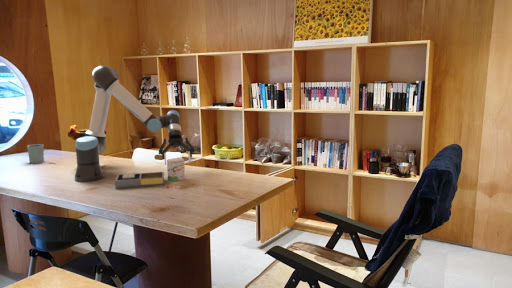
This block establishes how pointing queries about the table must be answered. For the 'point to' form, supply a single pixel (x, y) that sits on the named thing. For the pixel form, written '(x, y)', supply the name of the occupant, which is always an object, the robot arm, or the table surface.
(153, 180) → the grey compartment tray
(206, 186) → the table surface
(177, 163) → the ink box
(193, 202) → the table surface
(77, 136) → the decorative vase
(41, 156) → the grey green cup
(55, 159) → the table surface
